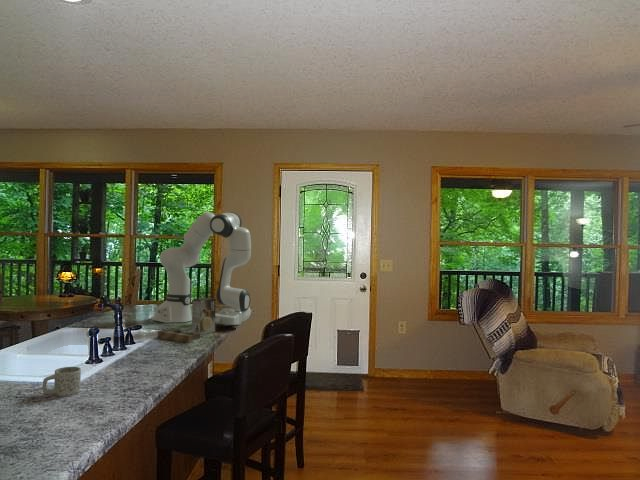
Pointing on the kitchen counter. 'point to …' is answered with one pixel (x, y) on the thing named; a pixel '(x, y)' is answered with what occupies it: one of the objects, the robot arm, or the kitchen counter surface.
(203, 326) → the coffee box
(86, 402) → the kitchen counter surface
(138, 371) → the kitchen counter surface
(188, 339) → the walnut dock
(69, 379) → the mug
